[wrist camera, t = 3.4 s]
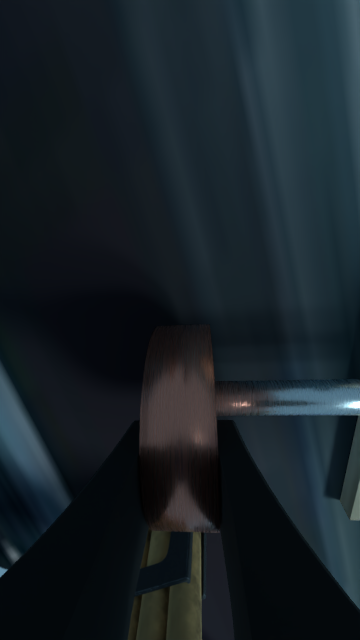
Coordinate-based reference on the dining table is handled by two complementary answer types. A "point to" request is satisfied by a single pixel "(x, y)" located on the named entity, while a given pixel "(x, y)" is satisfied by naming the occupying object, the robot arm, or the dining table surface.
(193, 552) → the ammunition clip
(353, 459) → the eye bracket
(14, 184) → the dining table surface
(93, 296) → the dining table surface
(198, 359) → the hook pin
